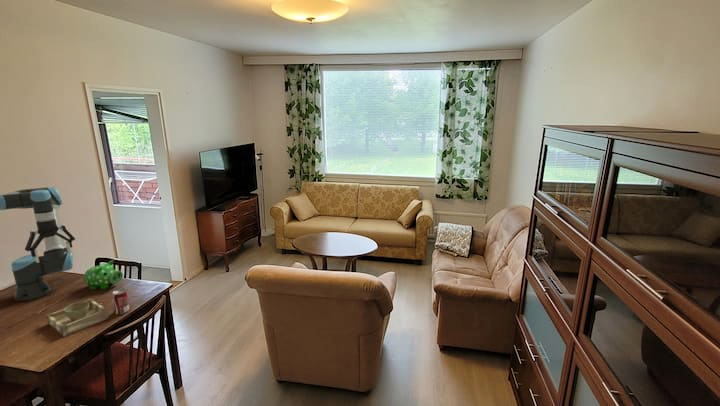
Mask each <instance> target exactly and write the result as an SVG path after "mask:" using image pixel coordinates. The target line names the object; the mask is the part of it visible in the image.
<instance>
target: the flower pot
mask: <svg viewBox="0 0 720 406" xmlns="http://www.w3.org/2000/svg"><path fill="white" fill-rule="evenodd" d="M63 309H64V312H65V314H66V315H67V316H68V317H69V318H70V319H71V320H72V321H77V320H79V319H82V318H84V317H86V315H87V313H88V310H89V302H84V301H78V302H74V303H71V304H69V305H67V306H66V307H64V308H63Z"/></svg>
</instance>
